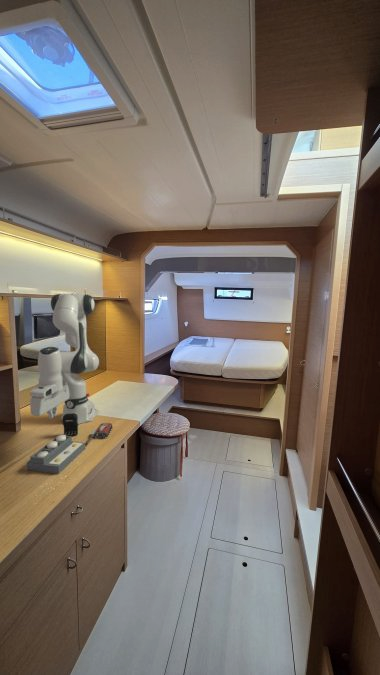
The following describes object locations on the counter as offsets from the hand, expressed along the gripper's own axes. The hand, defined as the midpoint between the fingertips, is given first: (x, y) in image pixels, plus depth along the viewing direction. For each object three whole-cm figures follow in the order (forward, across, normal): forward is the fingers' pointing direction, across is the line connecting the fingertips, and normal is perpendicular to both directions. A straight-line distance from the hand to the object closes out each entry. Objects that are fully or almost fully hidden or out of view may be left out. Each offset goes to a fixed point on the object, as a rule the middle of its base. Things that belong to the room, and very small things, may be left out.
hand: (52, 417), depth 116 cm
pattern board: (+18, +2, +3) cm, 18 cm away
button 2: (+13, -4, 0) cm, 14 cm away
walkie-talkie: (+19, -21, +10) cm, 30 cm away
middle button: (+13, +2, +1) cm, 13 cm away
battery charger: (+19, -18, -4) cm, 26 cm away
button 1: (+14, +8, +1) cm, 16 cm away
